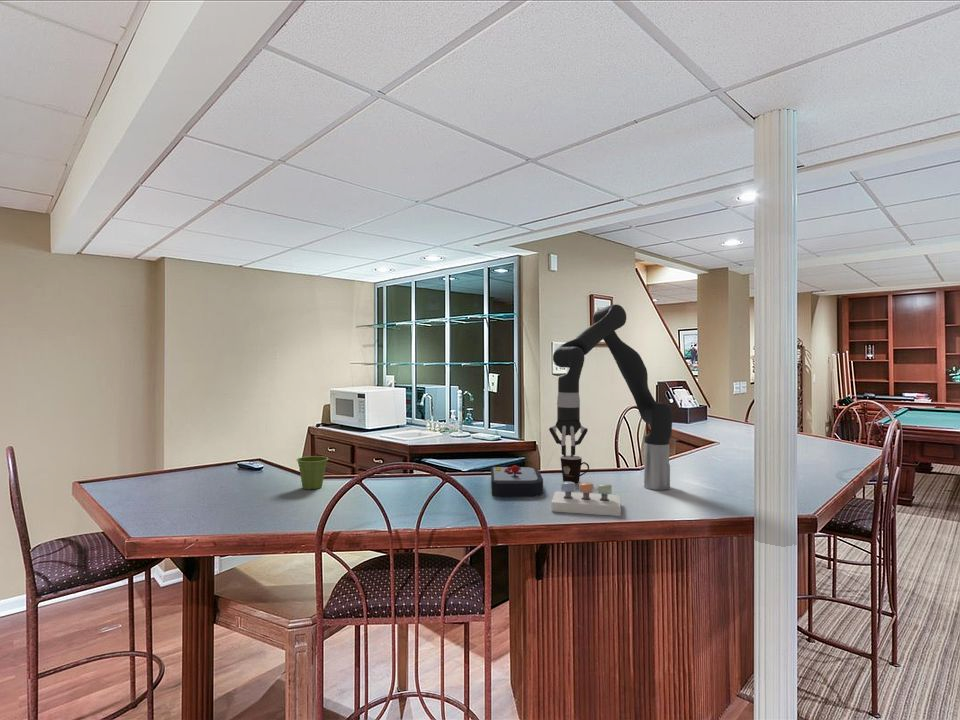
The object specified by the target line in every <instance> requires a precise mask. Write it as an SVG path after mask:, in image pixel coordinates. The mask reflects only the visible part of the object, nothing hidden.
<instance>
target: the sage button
mask: <svg viewBox="0 0 960 720" xmlns="http://www.w3.org/2000/svg"><path fill="white" fill-rule="evenodd" d="M596 486H597V490H596V491H597V494H601V501H608V495H612V484H609V483H598V484H597V485H596Z"/></svg>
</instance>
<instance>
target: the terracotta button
mask: <svg viewBox="0 0 960 720" xmlns="http://www.w3.org/2000/svg"><path fill="white" fill-rule="evenodd" d="M578 484H579V485H578V487H579V490H578V491H579V493H583V500H589V494H593V492H594V484H593V482H592V483H591V482H579V483H578Z"/></svg>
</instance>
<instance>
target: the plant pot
mask: <svg viewBox="0 0 960 720" xmlns="http://www.w3.org/2000/svg"><path fill="white" fill-rule="evenodd" d="M328 461H329V457H328V456H322V455H311V456H309V455H308V456H303V457H302V456H301V457H297V458H296V462H297V463H298V468H299V472H300V473H299V474H300V479H301V488H302V489H304V490H312V489H313V490H318V489H321V488H322V487H323V483H324V478H325V471H326V468H327V467H326V466H327V463H328Z"/></svg>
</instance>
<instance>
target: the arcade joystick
mask: <svg viewBox="0 0 960 720" xmlns="http://www.w3.org/2000/svg"><path fill="white" fill-rule="evenodd" d="M490 472H491V473H490V475H491V476H490V481H491V482H490V483H491V484H490V485H491V487H490V488H491V496H493V497H497V498H525V497H526V498H533V497H539V496H541V495H542V494H544V479H543V477H542V474H541V472H540V470H538V469H537V468H535V467H527V466H524V467H523V466H521V467H520V466H518V465H516V464H514V465H512V466H492V467H490Z"/></svg>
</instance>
